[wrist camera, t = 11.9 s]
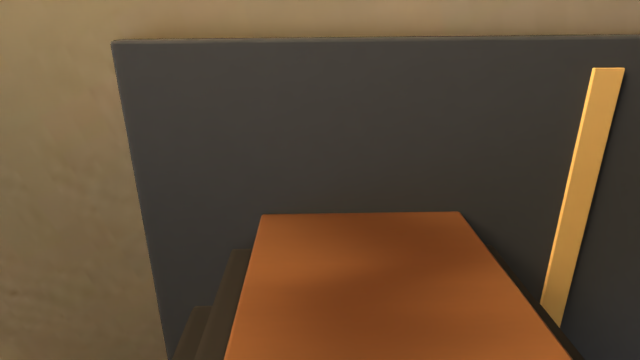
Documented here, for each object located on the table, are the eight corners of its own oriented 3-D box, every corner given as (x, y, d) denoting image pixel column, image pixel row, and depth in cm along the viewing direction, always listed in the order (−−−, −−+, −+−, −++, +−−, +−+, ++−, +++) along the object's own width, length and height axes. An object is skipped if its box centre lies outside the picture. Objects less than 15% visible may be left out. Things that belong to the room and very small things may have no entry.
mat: (1072, 30, 9) (1134, 31, 8) (825, 433, 13) (852, 454, 12) (121, 39, 8) (106, 41, 8) (191, 447, 13) (185, 470, 12)
